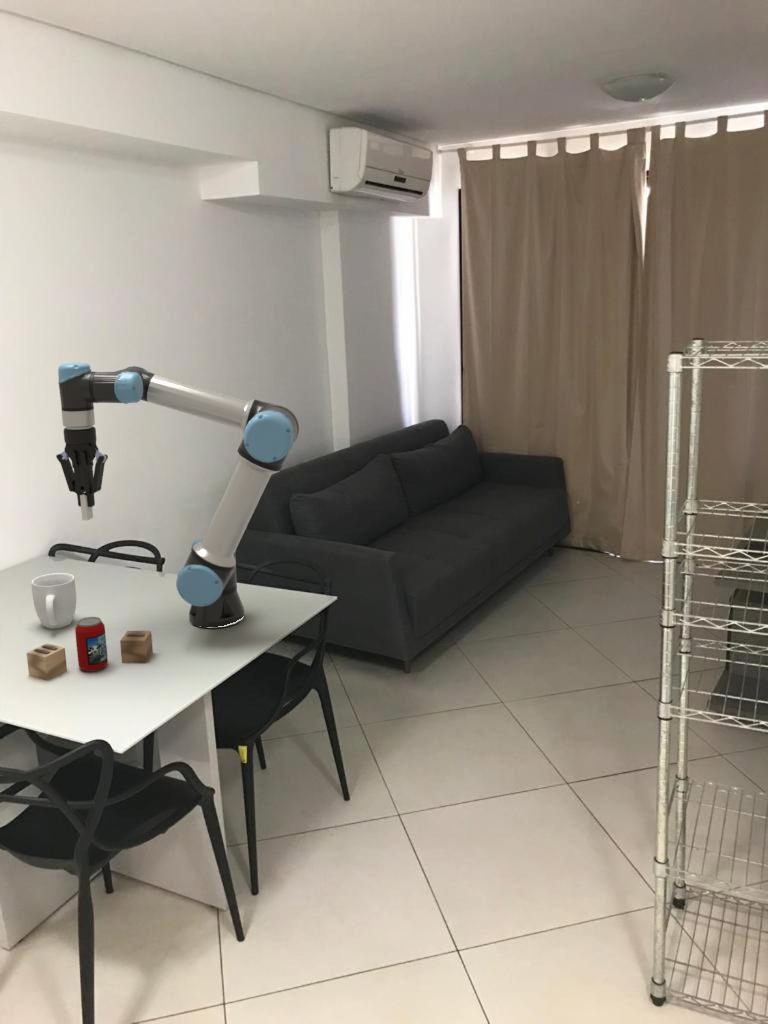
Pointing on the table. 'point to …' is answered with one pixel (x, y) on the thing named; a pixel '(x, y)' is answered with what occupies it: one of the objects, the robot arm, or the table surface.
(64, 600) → the mug
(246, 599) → the table surface
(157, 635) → the table surface
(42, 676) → the wooden equals sign cube
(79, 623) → the beverage can
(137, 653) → the wooden minus sign cube
